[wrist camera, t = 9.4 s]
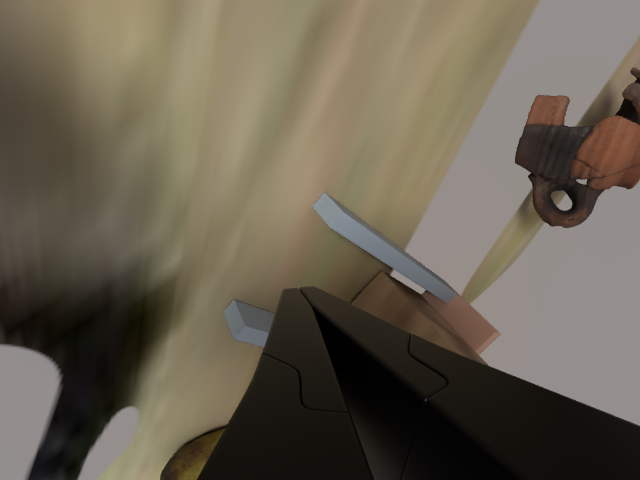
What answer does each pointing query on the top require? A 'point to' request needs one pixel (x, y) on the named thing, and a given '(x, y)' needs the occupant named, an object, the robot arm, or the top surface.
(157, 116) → the top surface
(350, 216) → the blue-gray angular pronged part
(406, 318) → the crate
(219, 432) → the potato
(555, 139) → the brown irregular pronged part
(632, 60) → the top surface
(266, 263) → the top surface
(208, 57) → the top surface
